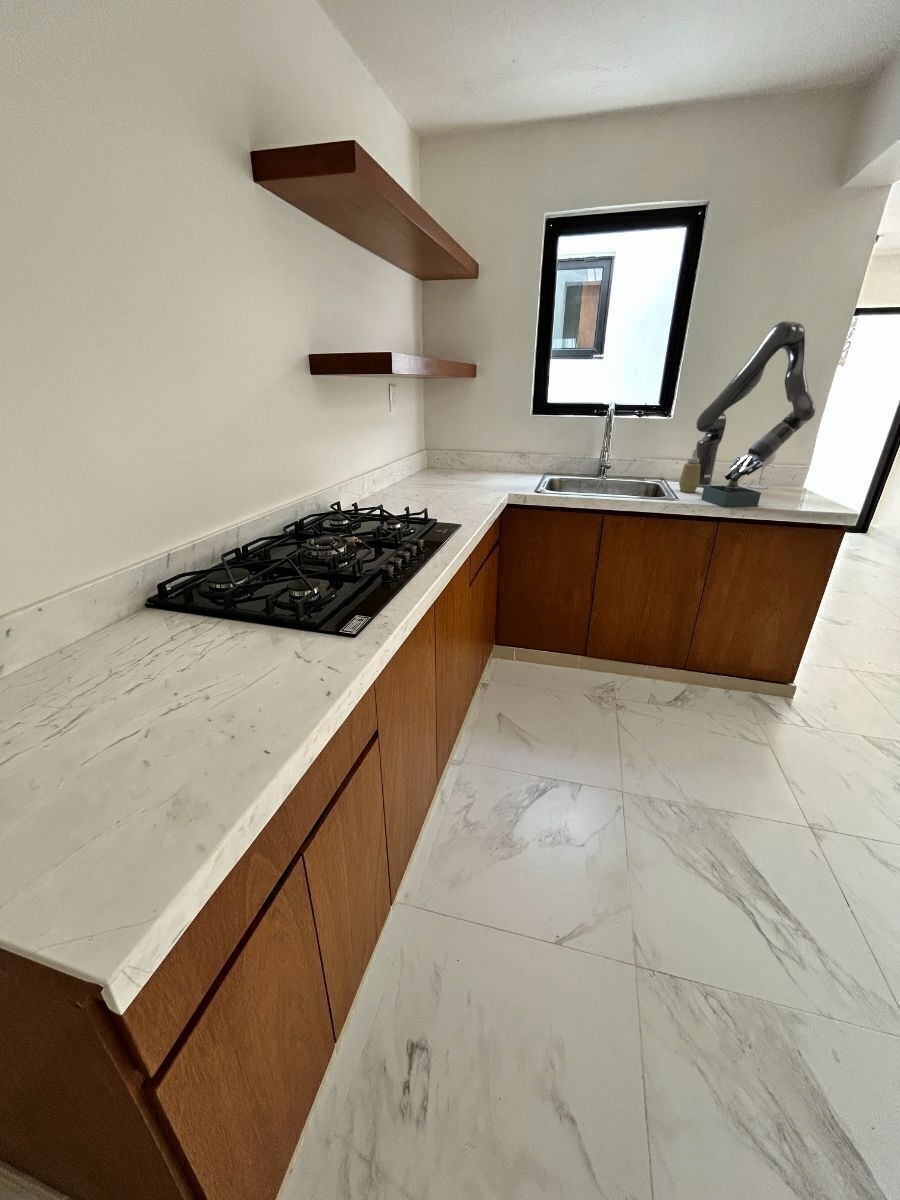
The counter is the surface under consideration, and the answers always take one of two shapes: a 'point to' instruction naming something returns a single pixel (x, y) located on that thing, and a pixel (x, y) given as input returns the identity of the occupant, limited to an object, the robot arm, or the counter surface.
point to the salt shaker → (733, 486)
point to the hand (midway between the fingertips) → (729, 479)
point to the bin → (731, 497)
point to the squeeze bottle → (690, 474)
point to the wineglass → (763, 469)
